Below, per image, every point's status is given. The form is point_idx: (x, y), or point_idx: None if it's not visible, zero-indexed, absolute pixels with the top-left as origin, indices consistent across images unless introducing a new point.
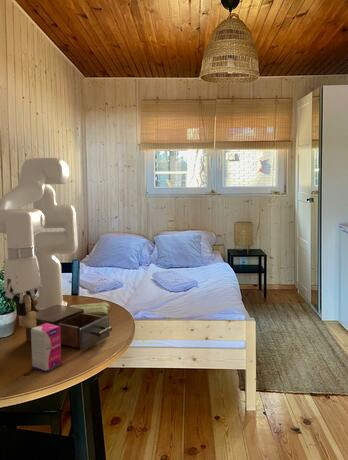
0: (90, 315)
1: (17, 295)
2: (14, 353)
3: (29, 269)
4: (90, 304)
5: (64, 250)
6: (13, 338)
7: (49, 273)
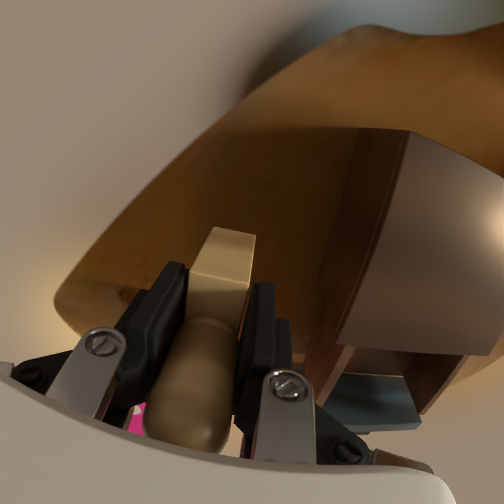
0: (441, 385)
1: (102, 404)
2: (234, 155)
3: None
4: None
5: None
6: (374, 55)
7: None
